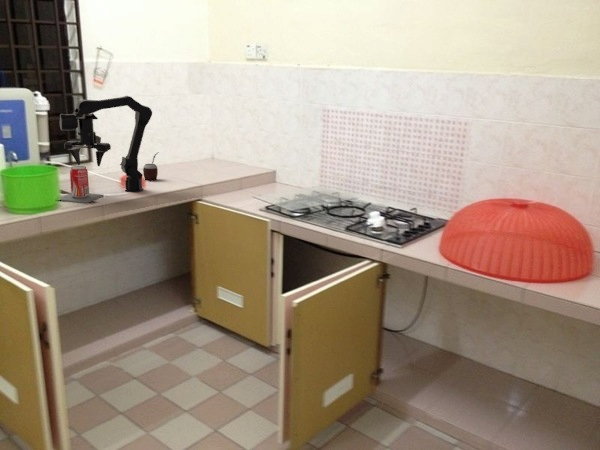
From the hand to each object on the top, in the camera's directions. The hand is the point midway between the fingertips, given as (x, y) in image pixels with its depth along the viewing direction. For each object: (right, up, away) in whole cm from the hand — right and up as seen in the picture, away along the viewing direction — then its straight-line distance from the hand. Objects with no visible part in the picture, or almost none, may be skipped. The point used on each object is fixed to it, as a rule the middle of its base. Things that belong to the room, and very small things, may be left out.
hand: (88, 165), depth 241 cm
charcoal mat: (-2, -15, -4) cm, 15 cm away
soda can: (-2, -14, -5) cm, 15 cm away
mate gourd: (+18, -4, +37) cm, 41 cm away
